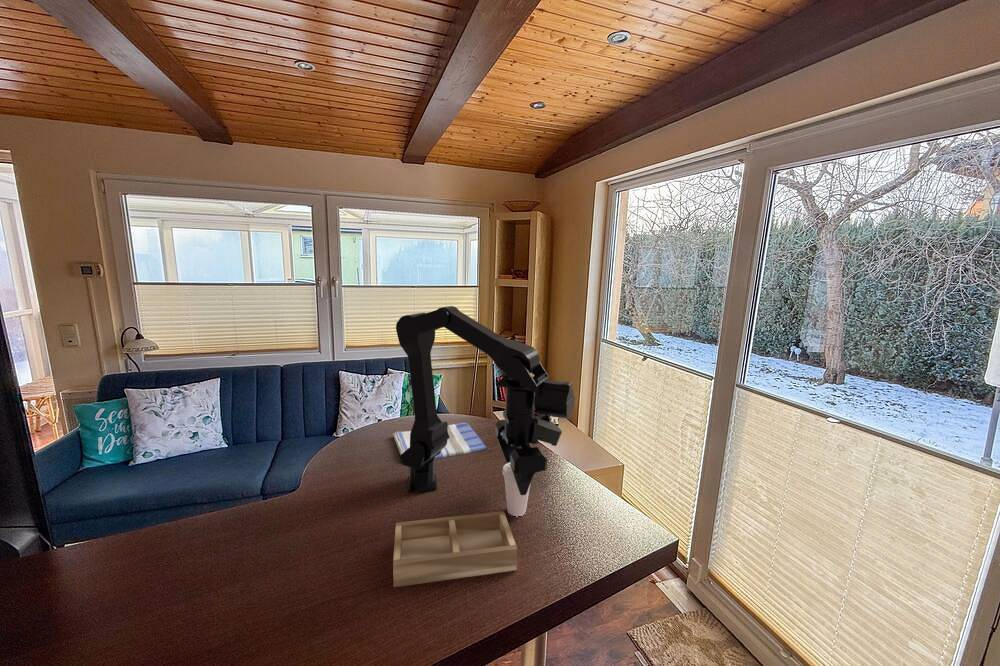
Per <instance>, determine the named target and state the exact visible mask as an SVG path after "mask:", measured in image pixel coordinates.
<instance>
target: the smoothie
mask: <svg viewBox="0 0 1000 666" xmlns="http://www.w3.org/2000/svg"><path fill="white" fill-rule="evenodd" d="M510 464H511V462H509V463H505V464H504V465H503V466H502V471H501V473H502V476H503V477H504V479H503V480H504V487H505V488H504V489H505V497H506V508H507V513H509V514H511V515H513V516H516V517H515V518H519V517H518V516H522V517H524V516H525V515H526V513H525V512H526V511H527V505H528V501H529V500H528V499H529V495H530V489H531V483H532V482H531V483H530V486H529V488H528V491H527V494H526V495H520V492H519V489H518V486H517V484H516V481H515V478H514V475H513V472H512V469H511V466H510ZM509 514H508V515H509ZM524 514H525V515H524ZM523 515H524V516H523Z"/></svg>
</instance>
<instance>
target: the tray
mask: <svg viewBox="0 0 1000 666" xmlns="http://www.w3.org/2000/svg"><path fill="white" fill-rule="evenodd" d="M506 516H507V515H506V513H505V512H504V511H493V512H492V511H491V512H483V513H475V514H467V515H466V514H465V515H464V514H463V515H455V516H447V517H438V518H430V519H429V518H428V519H420V520H410V521H408V520H407V521H401V522H395V528H394V529H395V531H394V547H393V561H392V568H393V569H392V571H393V572H392V573H393V576H392V577H393V578H392V579H393V588H397V587H404V586H405V587H406V586H413V585H420V584H427V583H434V582H442V581H448V580H456V579H463V578H470V577H476V576H477V577H478V576H484V575H485V576H486V575H491V574H492V575H493V574H498V573H506V572H513V571H514V572H515V571H517V570H518V569H517V568H518V547H517V543H516V541H515V539H514V536H513V534H512V530H511V528H510V524H509V522H508V519H507V517H506Z"/></svg>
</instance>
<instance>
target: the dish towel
mask: <svg viewBox="0 0 1000 666" xmlns="http://www.w3.org/2000/svg"><path fill="white" fill-rule="evenodd" d="M410 433H411V430H409V431H398V430H397V431H395V432H394V433H392V436H393V439H394V442H395V444H396V446H397V449H398V452H399V454H400V455H401V454H403V453H404V452H405V451H406V450H407V449H408V448H409V447H410ZM448 434H449V437H450V438H449V439H447V445H446V446H445V447H444V448H443V449H442V450H441V453H440V454H439V455H437V456H435V457H434V460H437V459H442V458H443V459H444V458H447V457H452V456H453V457H454V456H460V455H461V456H462V455H466V454H471V453H478V452H483V451H486V450H487V445H485V443H484V442H483V440H482V439H481V438H480V436H479V435H478V433H476V432H475V430H474V429H473V428H472V427H471V425H470V424H469V423H467V422H460V423H453V424H448Z"/></svg>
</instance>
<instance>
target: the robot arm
mask: <svg viewBox="0 0 1000 666" xmlns="http://www.w3.org/2000/svg"><path fill="white" fill-rule="evenodd" d="M443 328H445V329H446V330H447V331H450V332H451V333H452V334H454V335H456V336H457V337H459V338H460V339H462V340H464V341H465V342H467V343H468V344H470V345H471V346H472V347H475V348H476V349H478V350H479V351H481V352H483V353H484V354H486V355H487V356H488V357H489V358H490V359H492V361H493V363H494V365H495V366H496V367H497V368H498V369H499V370H500V371H501V372H502V373H503V376H502V377H501V379H499V380H498V381H496V382H495V385H496V387H499V388H505V410H503V411H502V416H503V418H504V419H499V420H498V421H497V422H496V423H495V424H494V432H495V435H496V439H497V442H498V445H499V447H500V450H501V452H502V455H503V457H504V460H505V464H507V463H509V462H511V464H510V466H511V469H512V472H513V475H514V478H515V481H516V484H517V486H518V489H519V492H520V495H526V494H527V491H528V488H529V486H530V487H531V484H530V483H532V481H533V478H534V477H535V475H536V473H539V472H542V471H543V472H545V471H546V470H547V469H548V458H547V457H546V455H545V454H544V452H543V451H542V450H541V449H540V448H539V447H537V446H535V447H533V446H532V447H531V445H530V444H532V445H538V444H539V441H541V442H543V443H547V444H550V445H551V446H554V447H556V446H557V445H558V443H559V441H560V439H561V436H562V433H563V430H561V428H560V427H559V426H558V425H557V424H556V423H554V422H553V421H551V417H554V418H560V419H564V420H570V419H571V417H572V416H573V412H574V408H575V396H574V395H575V394H574V390H573V383H572V382H569V381H556V380H550V375H549V374H548V373H547V371H546V369H545V368H544V366H543V365H542V363H541V361H540V360H541V359H540V355H539V352H538V350H537V349H536V348H534V347H533V346H531V345H528V344H526V343H523V342H521V341H520V340H519V341H518V340H514V339H509V338H506V337H503V336H501V335H499V334H498V333H497V332H495V331H493V330H491V329H490V328H488V327H486V326H485V325H483V324H482V323H480V322H478V321H476V320H475V319H473V318H472V317H470V316H468V315H467V314H466V313H464V312H462V311H461V310H459V309H458V308H457V307H455V306H454V305H448V306H442V307H439V308H437V309H435V310H432V311H430V312H418V313H417V312H416V313H412V314H406V315H403V316H401V317H400V318H399V319H398V320H397V322H396V323H395V332H396V336H397V339H398V343H399V345H400V347H401V348H402V350H403V352H404V353H405V354H406V356H407V360H408V361H407V362H408V369H409V371H408V372H409V377H410V378H409V379H410V386H411V387H410V389H411V394H412V395H411V396H412V404H413V414H414V420H413V424H412V426H411V427H412V428H411V430H410V431H411V433H410V447H409V448H408V449H407V450H406V451H405V452H404V453H403V454H401V455H400V456H399V458H400V462H401V465H402V466H404V467H408V473H409V474H408V475H407V489H406V491H407V493H417V492H418V493H419V492H427V491H428V492H429V491H430V492H431V491H437V490H438V485H437V483H438V482H437V474H436V473H435V459H434V457H435V456H437V455H439V454H440V453H441V450H442V449H443V448H444V447H445V446H446V445H447V439H449V438H450V437H449V434H448V425H449V424H448V421H442V420H441V419H440V418H439V417H440V416H439V415H438V413H437V412H438V411H437V404H436V393H435V384H434V375H433V367H432V365H433V364H432V355H431V352H432V349H433V345H434V344H435V339H436V331H437V330H439V329H443ZM531 374H532V375H533V376H532V375H531ZM535 412H537V413H538V415H537V416H536V415H535Z"/></svg>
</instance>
